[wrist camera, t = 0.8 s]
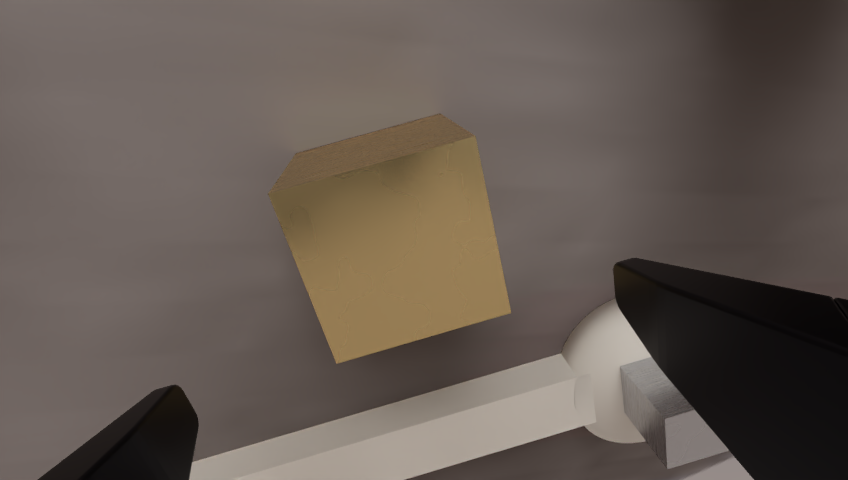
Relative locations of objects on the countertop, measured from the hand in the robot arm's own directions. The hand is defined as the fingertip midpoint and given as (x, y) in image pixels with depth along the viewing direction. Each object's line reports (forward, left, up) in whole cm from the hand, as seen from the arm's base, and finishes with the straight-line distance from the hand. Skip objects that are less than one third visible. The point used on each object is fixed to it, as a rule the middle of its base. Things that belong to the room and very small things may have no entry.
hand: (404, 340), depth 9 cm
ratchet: (0, +12, -11) cm, 17 cm away
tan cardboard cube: (0, 0, -11) cm, 11 cm away
